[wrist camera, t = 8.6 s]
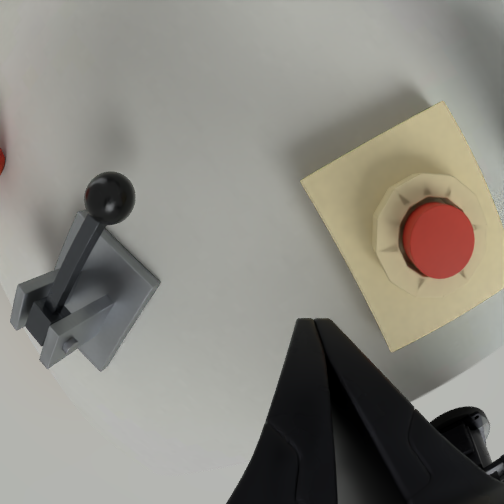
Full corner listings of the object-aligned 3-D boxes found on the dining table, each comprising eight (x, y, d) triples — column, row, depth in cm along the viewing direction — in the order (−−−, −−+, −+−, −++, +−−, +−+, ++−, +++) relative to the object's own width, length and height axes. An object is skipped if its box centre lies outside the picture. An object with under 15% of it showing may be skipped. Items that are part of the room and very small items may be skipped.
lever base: (87, 209, 24) (14, 224, 16) (161, 282, 23) (95, 323, 16) (49, 303, 28) (-7, 331, 20) (107, 366, 27) (56, 408, 20)
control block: (504, 269, 17) (531, 286, 13) (386, 337, 20) (395, 368, 16) (432, 107, 16) (454, 92, 12) (302, 180, 19) (295, 180, 16)
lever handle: (121, 164, 19) (91, 158, 16) (154, 193, 19) (126, 191, 16) (44, 311, 22) (17, 322, 19) (67, 339, 22) (42, 353, 19)
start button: (471, 249, 14) (484, 257, 13) (418, 281, 15) (426, 292, 14) (446, 190, 14) (458, 191, 12) (390, 222, 15) (397, 227, 14)
